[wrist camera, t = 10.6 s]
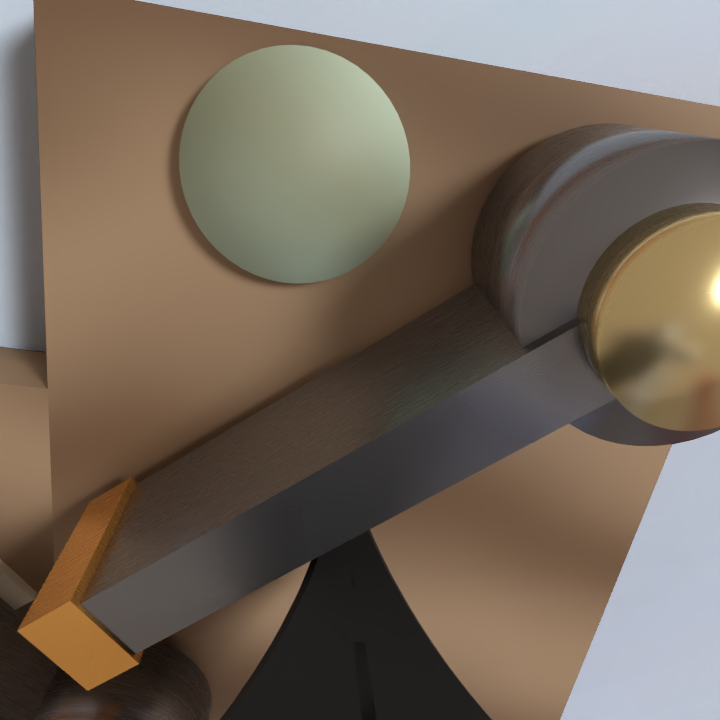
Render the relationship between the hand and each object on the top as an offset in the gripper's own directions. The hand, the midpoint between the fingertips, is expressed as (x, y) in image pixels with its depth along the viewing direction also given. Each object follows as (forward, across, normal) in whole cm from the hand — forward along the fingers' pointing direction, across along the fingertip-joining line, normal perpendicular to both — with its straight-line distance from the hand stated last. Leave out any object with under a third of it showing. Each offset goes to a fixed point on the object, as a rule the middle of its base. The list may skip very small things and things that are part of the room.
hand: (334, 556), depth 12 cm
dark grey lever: (+1, 0, -3) cm, 4 cm away
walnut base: (+3, +2, 0) cm, 3 cm away
